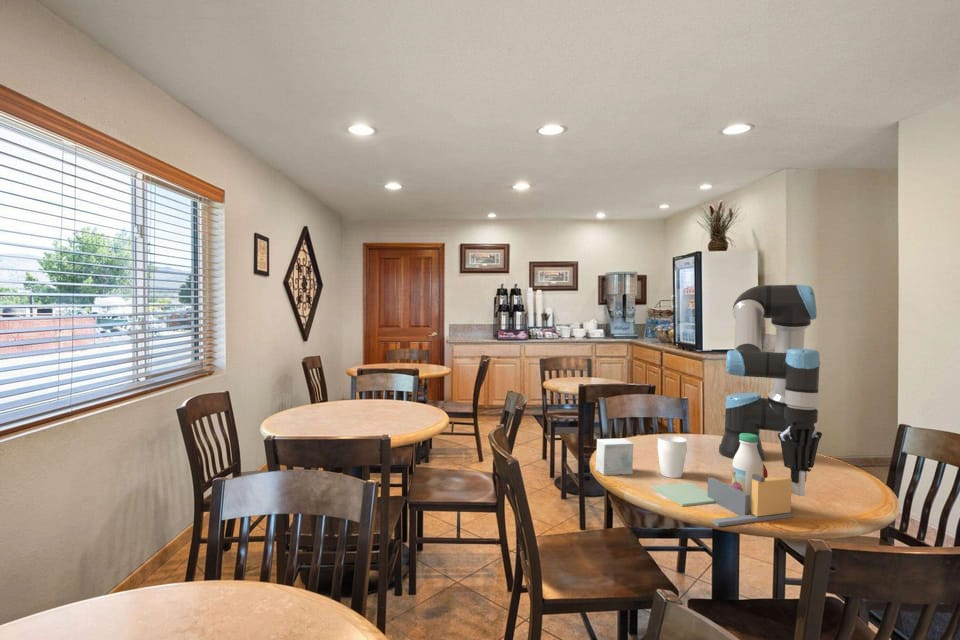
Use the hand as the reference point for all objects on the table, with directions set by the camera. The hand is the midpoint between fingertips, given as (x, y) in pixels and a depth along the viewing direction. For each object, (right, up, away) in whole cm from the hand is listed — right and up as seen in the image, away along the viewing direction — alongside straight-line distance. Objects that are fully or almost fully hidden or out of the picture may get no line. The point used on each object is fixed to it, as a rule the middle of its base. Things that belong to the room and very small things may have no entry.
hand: (797, 494), depth 132 cm
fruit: (-1, -5, +22) cm, 22 cm away
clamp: (-16, -5, +3) cm, 17 cm away
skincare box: (-41, -4, +32) cm, 52 cm away
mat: (-24, -5, +13) cm, 28 cm away
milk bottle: (-11, -5, +5) cm, 13 cm away
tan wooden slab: (-9, -4, -2) cm, 10 cm away
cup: (-22, -5, +30) cm, 38 cm away
